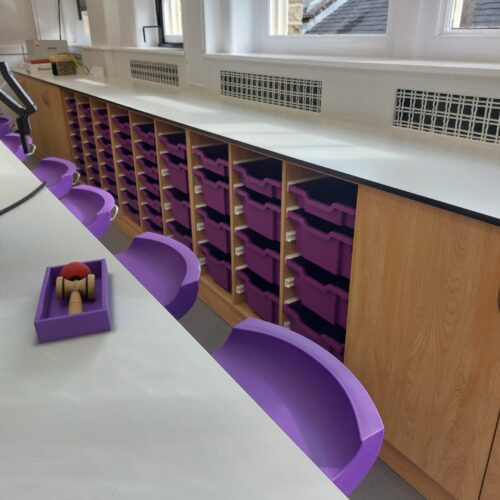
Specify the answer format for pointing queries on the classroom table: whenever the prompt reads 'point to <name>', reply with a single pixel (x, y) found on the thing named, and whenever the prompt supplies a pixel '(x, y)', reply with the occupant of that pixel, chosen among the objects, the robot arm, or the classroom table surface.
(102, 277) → the tote
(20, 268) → the classroom table surface
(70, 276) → the kendama
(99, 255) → the classroom table surface
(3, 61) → the robot arm
